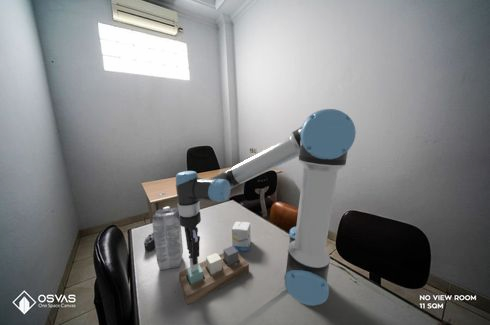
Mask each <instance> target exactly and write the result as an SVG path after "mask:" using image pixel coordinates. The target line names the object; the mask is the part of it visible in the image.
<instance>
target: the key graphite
mask: <svg viewBox="0 0 490 325" xmlns="http://www.w3.org/2000/svg"><path fill="white" fill-rule="evenodd" d="M223 253H224V261H225V262H226V263H227V264H226V265H227V266H228V267H230V266H232V265H234V264H236V263H237V262H239V258H238V253H239V251H238V250H236V249H235V247H234V246H232V245H231V246H229V247H227V248H224V249H223Z"/></svg>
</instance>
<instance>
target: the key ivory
mask: <svg viewBox="0 0 490 325" xmlns="http://www.w3.org/2000/svg"><path fill="white" fill-rule="evenodd" d="M219 255H220V254H218V252H215V253H212V254H209V255H208V256H206V257H205V259H206V260H205V261H206V262H207V269H208V270H209V275H210V276H212V275H214V274H216V273H218V272H220V270H222V260H221V258H220V256H219Z"/></svg>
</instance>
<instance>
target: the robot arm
mask: <svg viewBox="0 0 490 325" xmlns="http://www.w3.org/2000/svg"><path fill="white" fill-rule="evenodd" d="M356 134H357V131H356V126H355V123H354V121H353V120H352V118H351V117H350V116H349V115H348V114H347V113H345V112H344V111H342V110H339V109H335V108H326V109H321V110H317V111H314V112H313V113H312V114H311V115H309V116H308V117H307V118H306V119H305V120H304V122H303V124H302V125H301V126H300V127H298V128H297V129H296V130H293V131H292V132H291V134H290V136H288V137H287V138H285V139H283V140H281V141H279V142H277V143H275V144H273V145H271V146H270V147H268V148H266V149H264V150H262V151H260V152H259V153H256V154H255V155H252V156H251V157H250V158H248V159H245V160H244V161H241V162H240V163H238V164H236V165H234V166H233V167H230V168H229V169H227V170H225V171H222V172H221V173H219V174H217V175H214V176H213V177H210V178H207V177H203V178H202V177H199V175H198V173H197V172H196V171H194V170H188V171H187V170H185V171H180V172H178V173H177V174H176V175H175V187H176V188H175V189H176V195H177V208H178V211H179V220H180V225H181V228H183V229H184V233H185V242H186V249H187V250H188V254H189V255H188V259H189V265H190V267H189V268H191V272H194V271H196V270H198V269H199V267H198V264H199V258H198V257H200V240H201V236H200V235H198V231H199V229H198V227H197V226H198V224H200V223H201V221H202V218H201V206H200V205H202V204H201V201H200V200H203V201H209V202H211V201H212V202H226V201H227V200H229V197H230V195H231V189H233V188H235V187H237V186H239V185H241V184H243V183H245V182H248V181H250V180H252V179H254V178H256V177H258V176H260V175H262V174H265V173H266V172H268V171H270V170H273V169H276V168H277V167H279V166H281V165H283V164H286V163H287V162H289V161H292V160H294V159H297V158H298V161H299V162H300V164H301V165H302V177H301V186H300V194H299V201H298V202H299V203H298V210H297V216H296V217H297V219H296V226H293V227H291V228H290V229H289V234H288V237H289V244H288V252H287V258H286V259H287V260H286V270H285V274H284V285H285V286H284V287H285V290H286V291H287V293H288V294H289V295H290V296H291V297H292V298H293V299H294V300H295V301H296V302H299V303H300V304H303V305H305V306H313V307H314V306H317V305H322V304H323V303H325V302H326V301H327V300H328V298H329V294H330V292H329V291H330V287H329V284H328V275H329V269H330V261H331V256H330V253H329V252H328V250H327V242H328V234H329V229H330V222H331V216H332V210H333V203H334V199H335V198H334V197H335V190H336V183H337V177H338V171H340V169H343V168H344V167H346V165H347V164H346V163H347V159H348V151H350V149H351V147H352V146H353V144H354V142H355V139H356Z"/></svg>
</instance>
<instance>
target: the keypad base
mask: <svg viewBox="0 0 490 325" xmlns="http://www.w3.org/2000/svg"><path fill="white" fill-rule="evenodd" d="M218 255H219V256H220V258H221V260H222V270H220V271H218V272H216V273H214V274H212V275H211V274H210V272H209V270H208V269H207V262H206V260H204V261H202V262H200V263H199V262H198V264H199V265H200V267H201V269H202V271H203V279H204V280H201V281H199V282H197V283H195V284H193V285H191V286H190V284H189V281H188V274H187V269H188V268H189V267H188V268H185V269H183V270H180V271H178V280H179V283H180V285H181V286H180V287H181V289H182V292H183V294H184V297H185V300H186V304H187V305H189V304H191V303H193V302H195V301H198V300H199V299H202V298H203V297H205V296H207V295H209V294H210V293H212V292H214V291H215V290H218V289H220V288H221V287H224V286H225V285H228V284H229V283H231V282H232V281H235V280H236V279H238V278H240V277H241V276H243V275H246V274H247V273H249V272H250V265H249V263H248V262H247V261H246V260H245V259H244V258H243V256H241V254H240V253H239V252H238V258H239V262H237V263H235V264H233V265H231V266H228V265H227V263H226V262H225V261H224V252H223V253H221V254H218Z"/></svg>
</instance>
